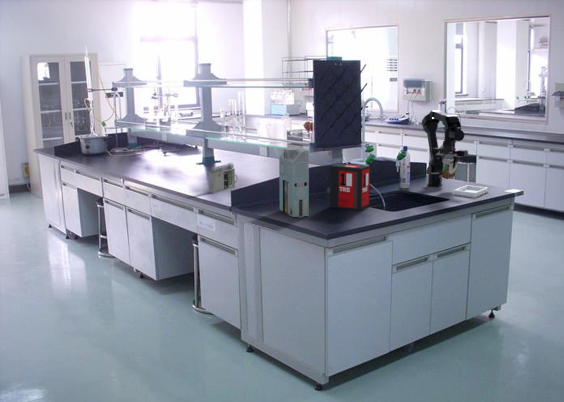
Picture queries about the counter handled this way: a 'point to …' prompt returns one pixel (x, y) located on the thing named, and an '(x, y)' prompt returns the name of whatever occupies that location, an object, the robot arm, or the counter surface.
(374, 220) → the counter surface
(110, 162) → the counter surface
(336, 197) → the cleaning product box
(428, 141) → the robot arm
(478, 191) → the tray
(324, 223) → the counter surface
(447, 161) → the food container
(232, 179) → the geiger counter
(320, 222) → the counter surface
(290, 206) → the device
